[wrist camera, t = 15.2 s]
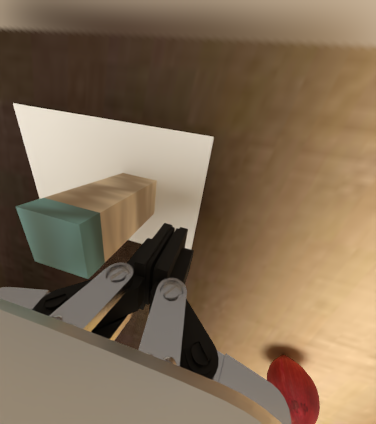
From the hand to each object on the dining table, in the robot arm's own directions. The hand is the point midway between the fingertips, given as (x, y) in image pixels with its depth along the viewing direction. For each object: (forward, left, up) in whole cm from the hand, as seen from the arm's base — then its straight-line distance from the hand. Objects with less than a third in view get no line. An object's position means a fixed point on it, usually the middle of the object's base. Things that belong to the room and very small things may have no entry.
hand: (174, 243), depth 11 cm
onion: (-28, +1, -8) cm, 29 cm away
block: (+4, +5, -7) cm, 9 cm away
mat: (+7, +7, -8) cm, 13 cm away
